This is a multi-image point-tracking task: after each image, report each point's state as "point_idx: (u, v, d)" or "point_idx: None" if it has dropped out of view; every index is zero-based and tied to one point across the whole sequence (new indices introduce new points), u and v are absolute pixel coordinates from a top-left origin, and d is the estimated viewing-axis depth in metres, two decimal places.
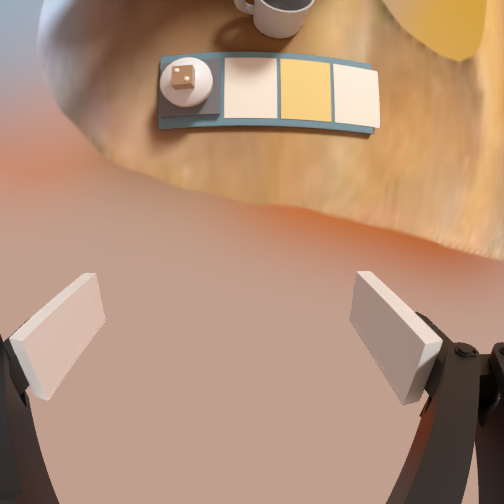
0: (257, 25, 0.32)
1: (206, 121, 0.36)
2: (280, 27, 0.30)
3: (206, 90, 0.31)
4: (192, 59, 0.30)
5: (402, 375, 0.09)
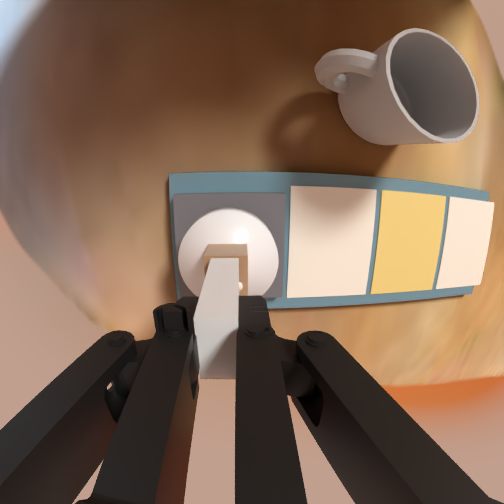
0: (350, 119, 0.20)
1: None
2: (400, 143, 0.17)
3: (268, 284, 0.19)
4: (238, 217, 0.18)
5: None
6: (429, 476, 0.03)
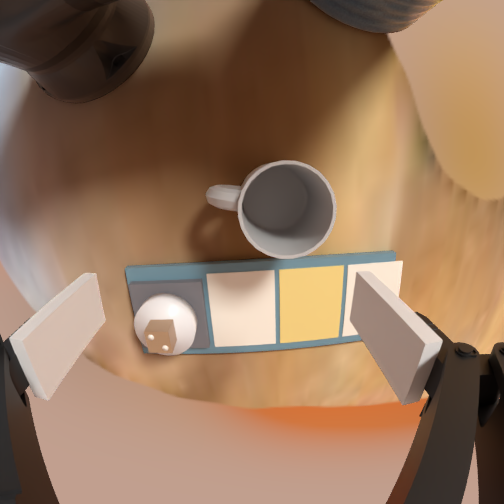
0: None
1: (195, 349, 0.33)
2: None
3: (191, 342, 0.29)
4: (165, 304, 0.27)
5: (402, 375, 0.09)
6: None
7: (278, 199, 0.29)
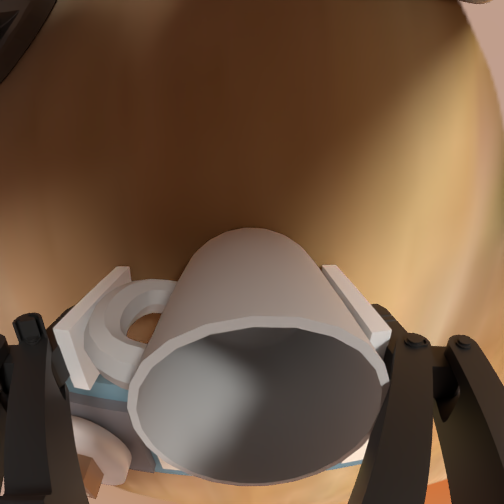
0: None
1: None
2: None
3: (122, 480, 0.15)
4: (77, 442, 0.13)
5: None
6: None
7: None
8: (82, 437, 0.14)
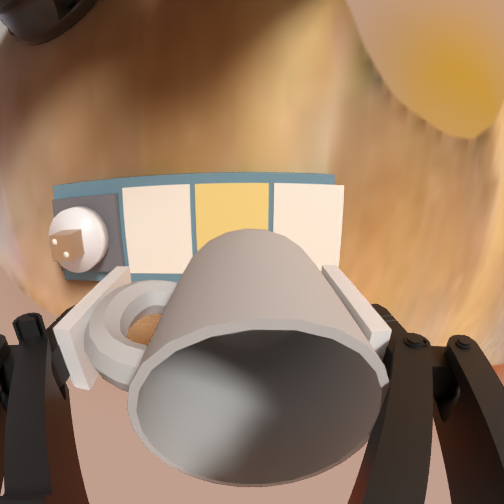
0: None
1: None
2: None
3: (96, 257, 0.25)
4: (75, 212, 0.24)
5: None
6: None
7: None
8: (79, 209, 0.24)
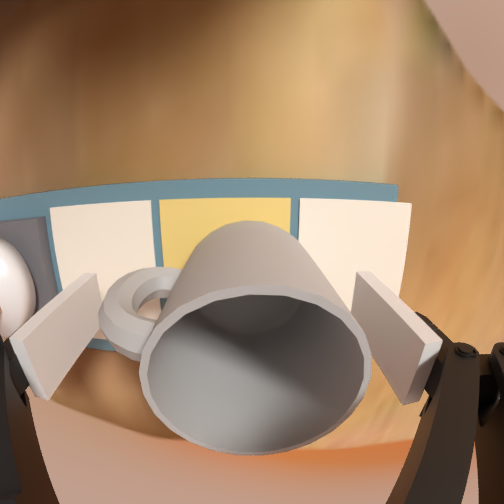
0: None
1: None
2: None
3: (17, 320, 0.13)
4: None
5: (402, 375, 0.09)
6: None
7: None
8: None
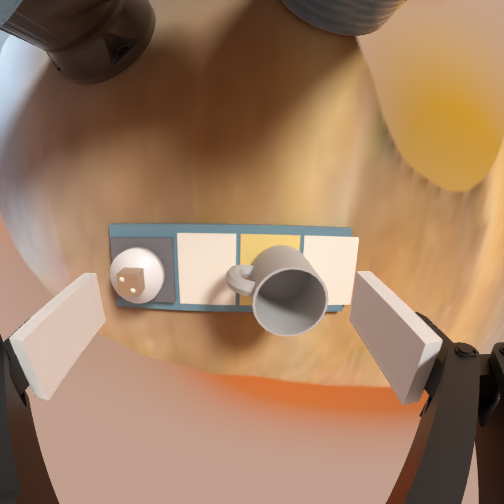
0: None
1: (163, 305, 0.37)
2: None
3: (156, 291, 0.32)
4: (138, 253, 0.31)
5: (402, 375, 0.09)
6: None
7: (283, 274, 0.36)
8: (142, 251, 0.32)
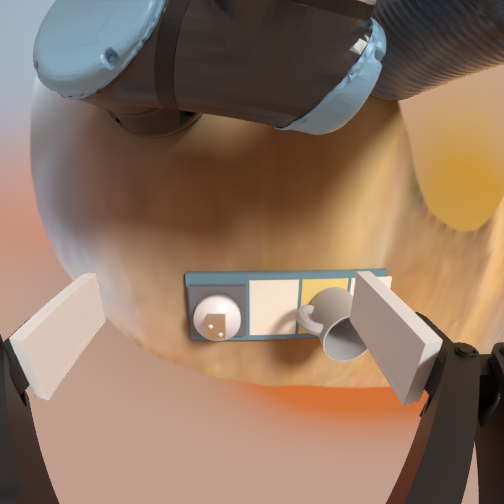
0: None
1: (234, 337, 0.44)
2: None
3: (236, 331, 0.40)
4: (221, 302, 0.38)
5: (402, 375, 0.09)
6: None
7: None
8: (223, 300, 0.39)
